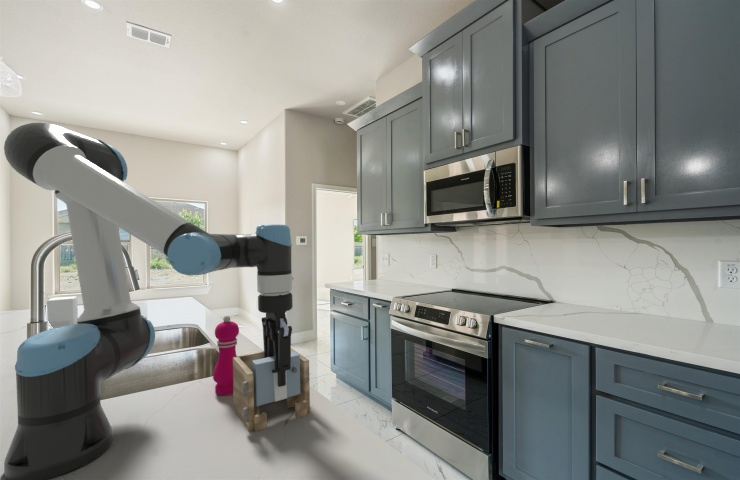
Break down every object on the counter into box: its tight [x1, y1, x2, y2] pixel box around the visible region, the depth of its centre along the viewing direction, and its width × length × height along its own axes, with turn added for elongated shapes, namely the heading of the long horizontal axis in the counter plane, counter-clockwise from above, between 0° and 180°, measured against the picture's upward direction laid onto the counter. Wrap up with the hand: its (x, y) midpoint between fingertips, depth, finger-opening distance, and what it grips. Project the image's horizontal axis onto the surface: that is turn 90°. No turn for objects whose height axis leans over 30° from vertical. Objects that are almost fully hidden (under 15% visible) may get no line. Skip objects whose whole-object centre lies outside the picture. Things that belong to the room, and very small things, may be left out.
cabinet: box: [232, 347, 311, 432], centre depth 81 cm, size 15×14×12 cm
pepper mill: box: [212, 315, 240, 396], centre depth 92 cm, size 7×7×20 cm
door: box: [252, 351, 300, 407], centre depth 78 cm, size 10×4×9 cm, turn 124°
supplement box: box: [46, 295, 79, 328], centre depth 157 cm, size 9×9×15 cm
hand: (277, 396), depth 78 cm, fingers closed on door, 3 cm apart
